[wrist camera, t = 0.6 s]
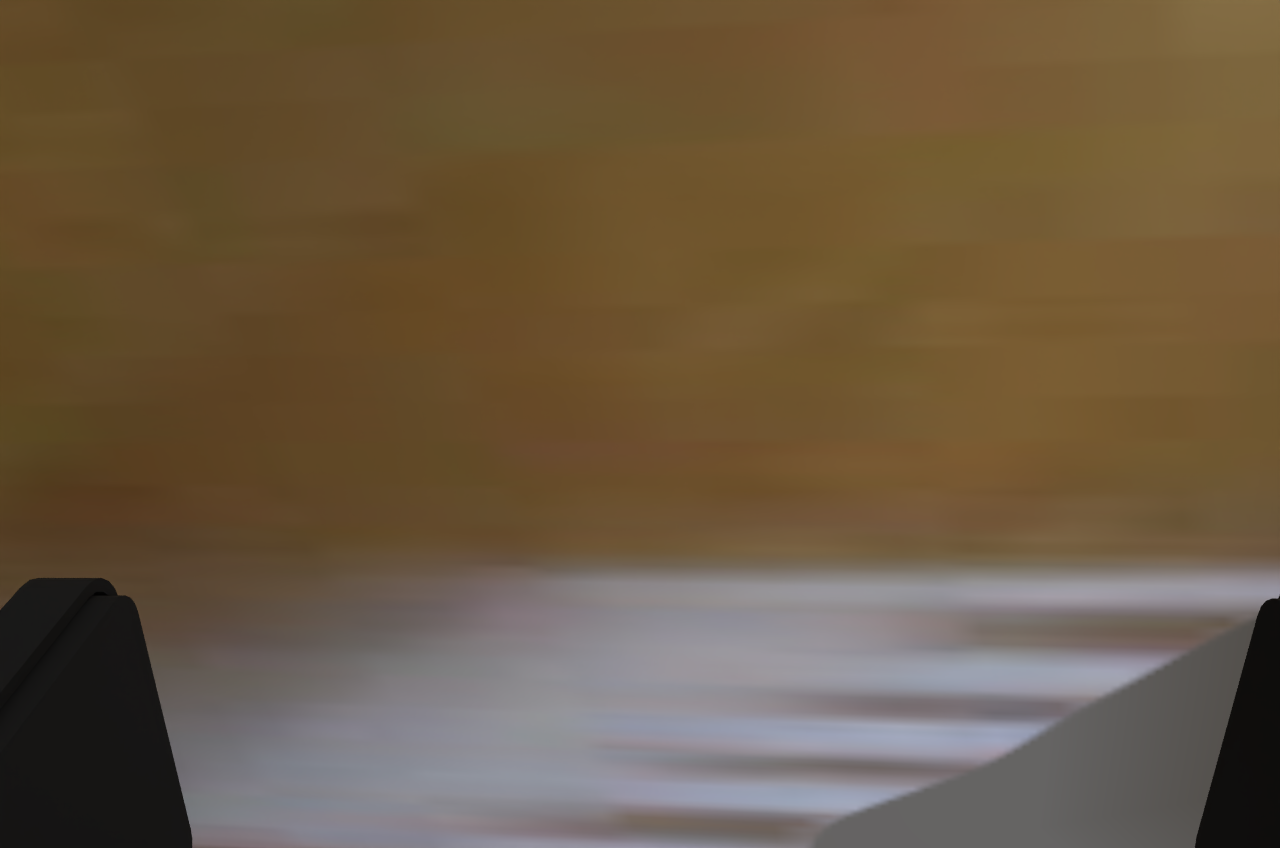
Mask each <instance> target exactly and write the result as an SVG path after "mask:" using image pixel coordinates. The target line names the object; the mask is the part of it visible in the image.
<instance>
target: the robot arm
mask: <svg viewBox="0 0 1280 848" xmlns="http://www.w3.org/2000/svg"><path fill="white" fill-rule="evenodd" d="M0 848H192V834H191V828H190V824H189V820H188V816H187V812H186V808H185V804H184V800H183V795H182V791H181V787H180V783H179V779H178V775H177V771H176V767H175V762H174V758H173V754H172V750H171V746H170V742H169V738H168V734H167V729H166V725H165V721H164V717H163V713H162V709H161V705H160V701H159V697H158V692H157V688H156V684H155V680H154V676H153V672H152V668H151V664H150V659H149V655H148V651H147V647H146V643H145V639H144V635H143V631H142V626H141V622H140V618H139V614H138V611H137V608H136V605H135V603H134V602H133V600H132V599H131V598H130V597H127V596H118V595H117V593H116V590H115V588H114V587H113V586H112V584H111V583H110V582H109V581H107V580H105V579H103V578H37V579H32V580H29V581H28V582H27V583H25V584H24V585H23V586H22V587H21V588H20V589H19V590H18V591H17V592H16V593H15V594H14V595H13V597H12V598H11V599H10V600H9V601H8V602H7V603H6V604H5V605H4V607H3V608H2V609H1V610H0ZM1195 848H1280V596H1279V598H1278V599H1270V600H1267V601H1266V602H1265V603H1264V604H1263V605H1262V606H1261V608H1260V611H1259V613H1258V616H1257V619H1256V623H1255V627H1254V630H1253V634H1252V638H1251V641H1250V645H1249V648H1248V652H1247V656H1246V659H1245V663H1244V667H1243V670H1242V674H1241V678H1240V681H1239V685H1238V688H1237V692H1236V696H1235V699H1234V703H1233V707H1232V710H1231V714H1230V718H1229V721H1228V725H1227V728H1226V732H1225V736H1224V739H1223V743H1222V747H1221V750H1220V754H1219V757H1218V761H1217V765H1216V769H1215V772H1214V776H1213V779H1212V783H1211V787H1210V791H1209V794H1208V797H1207V801H1206V805H1205V808H1204V812H1203V816H1202V819H1201V823H1200V827H1199V830H1198V834H1197V838H1196V844H1195Z"/></svg>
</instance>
